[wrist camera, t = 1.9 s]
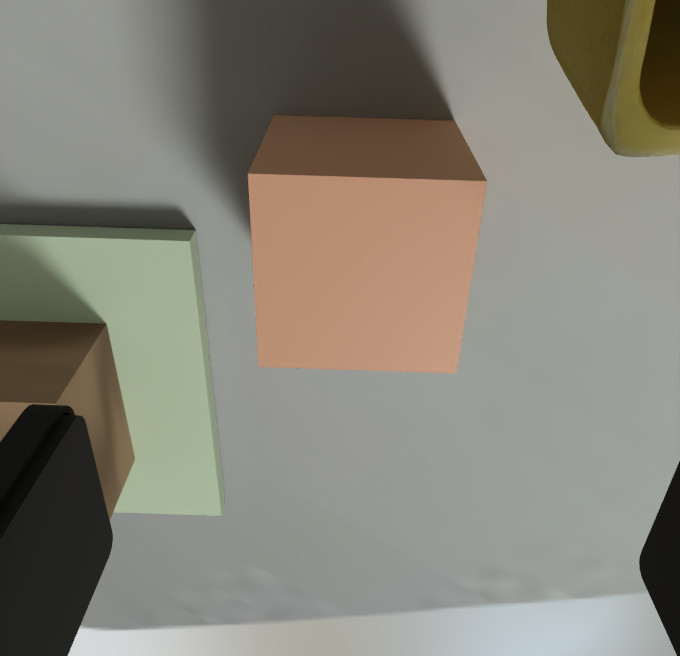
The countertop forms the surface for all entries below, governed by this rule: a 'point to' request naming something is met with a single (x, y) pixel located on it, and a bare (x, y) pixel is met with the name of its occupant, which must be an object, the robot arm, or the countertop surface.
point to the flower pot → (623, 69)
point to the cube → (363, 242)
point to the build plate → (133, 344)
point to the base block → (69, 388)
